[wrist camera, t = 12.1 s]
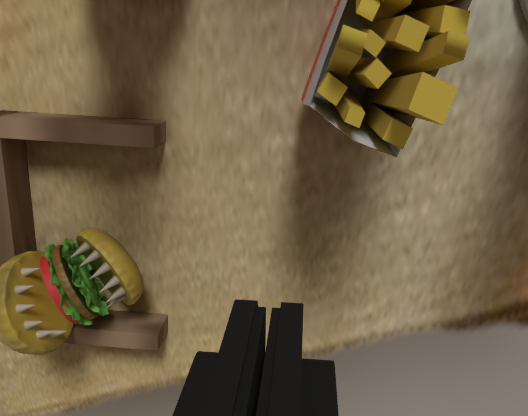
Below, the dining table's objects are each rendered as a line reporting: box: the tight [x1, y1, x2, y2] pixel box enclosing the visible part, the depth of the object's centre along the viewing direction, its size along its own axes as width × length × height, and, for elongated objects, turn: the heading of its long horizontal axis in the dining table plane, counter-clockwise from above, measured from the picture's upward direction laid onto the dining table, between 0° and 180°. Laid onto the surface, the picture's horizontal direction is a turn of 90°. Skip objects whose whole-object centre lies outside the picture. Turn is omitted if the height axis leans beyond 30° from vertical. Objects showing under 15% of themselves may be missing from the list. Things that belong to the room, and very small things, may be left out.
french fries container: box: [301, 0, 472, 157], centre depth 23 cm, size 5×11×18 cm, turn 159°
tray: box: [0, 111, 168, 351], centre depth 36 cm, size 12×18×3 cm
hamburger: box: [0, 229, 143, 355], centre depth 35 cm, size 8×7×12 cm
